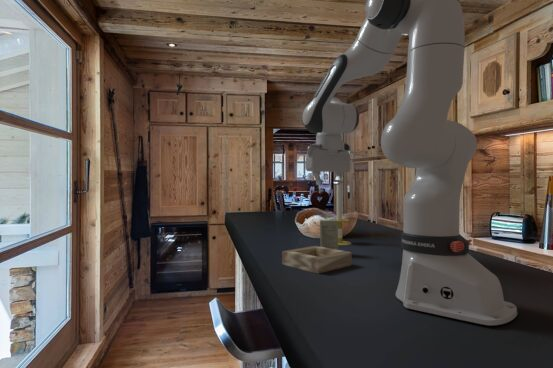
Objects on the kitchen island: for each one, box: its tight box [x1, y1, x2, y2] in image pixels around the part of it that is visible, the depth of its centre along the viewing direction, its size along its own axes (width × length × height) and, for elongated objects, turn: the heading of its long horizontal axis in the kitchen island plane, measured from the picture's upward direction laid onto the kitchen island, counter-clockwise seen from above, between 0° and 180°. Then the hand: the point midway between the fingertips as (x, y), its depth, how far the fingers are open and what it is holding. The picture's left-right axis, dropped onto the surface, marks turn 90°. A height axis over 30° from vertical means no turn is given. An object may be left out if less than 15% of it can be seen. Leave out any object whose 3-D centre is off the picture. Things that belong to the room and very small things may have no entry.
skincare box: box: [319, 218, 339, 250], centre depth 124 cm, size 6×4×12 cm
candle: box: [328, 182, 352, 246], centre depth 146 cm, size 10×10×27 cm
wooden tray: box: [281, 245, 353, 274], centre depth 108 cm, size 15×15×4 cm
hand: (328, 184), depth 123 cm, fingers open, 8 cm apart
